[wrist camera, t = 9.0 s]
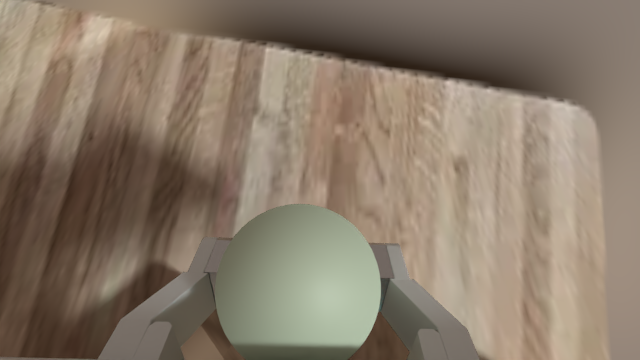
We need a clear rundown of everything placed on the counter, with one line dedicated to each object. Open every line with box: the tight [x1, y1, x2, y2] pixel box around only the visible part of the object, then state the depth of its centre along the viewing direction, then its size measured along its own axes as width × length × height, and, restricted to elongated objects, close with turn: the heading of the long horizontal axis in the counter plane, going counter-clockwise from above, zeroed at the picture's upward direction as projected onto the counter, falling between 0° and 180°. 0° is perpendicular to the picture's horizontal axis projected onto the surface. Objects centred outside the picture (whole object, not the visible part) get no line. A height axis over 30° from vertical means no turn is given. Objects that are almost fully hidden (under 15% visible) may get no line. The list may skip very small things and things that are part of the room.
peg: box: [215, 204, 381, 360], centre depth 12 cm, size 4×4×10 cm
